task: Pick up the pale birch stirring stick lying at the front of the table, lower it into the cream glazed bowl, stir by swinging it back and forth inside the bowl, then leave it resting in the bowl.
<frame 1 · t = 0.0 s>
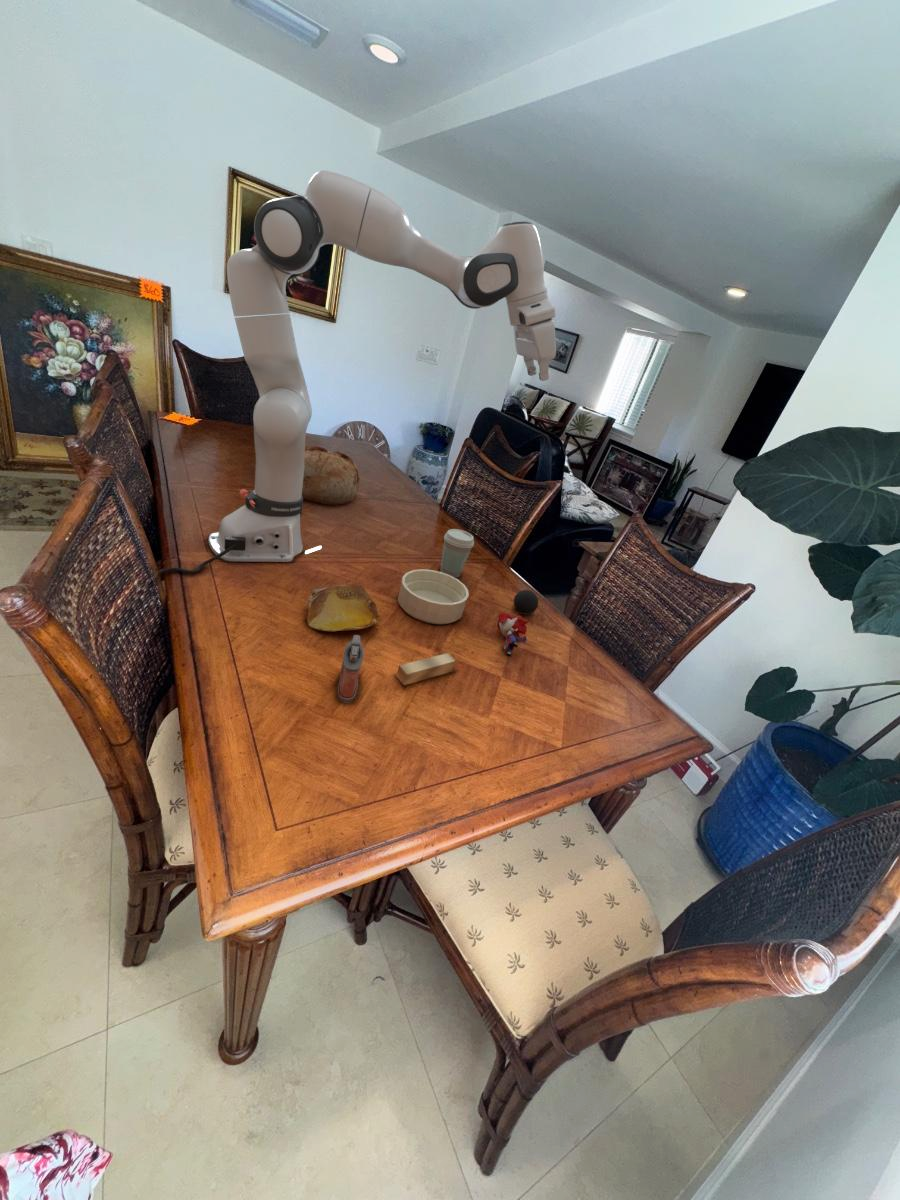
hand: (538, 377, 114), 54 cm above the table, tool tilted 30°, fingers open, 8 cm apart
bread: (322, 493, 168), on the table
coffee cup: (449, 573, 138), on the table
brown yellow irregular block: (341, 617, 106), on the table
bowl: (430, 606, 118), on the table
figurine: (509, 644, 113), on the table
stick: (425, 674, 96), on the table
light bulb: (521, 610, 129), on the table
lighter: (347, 688, 87), on the table
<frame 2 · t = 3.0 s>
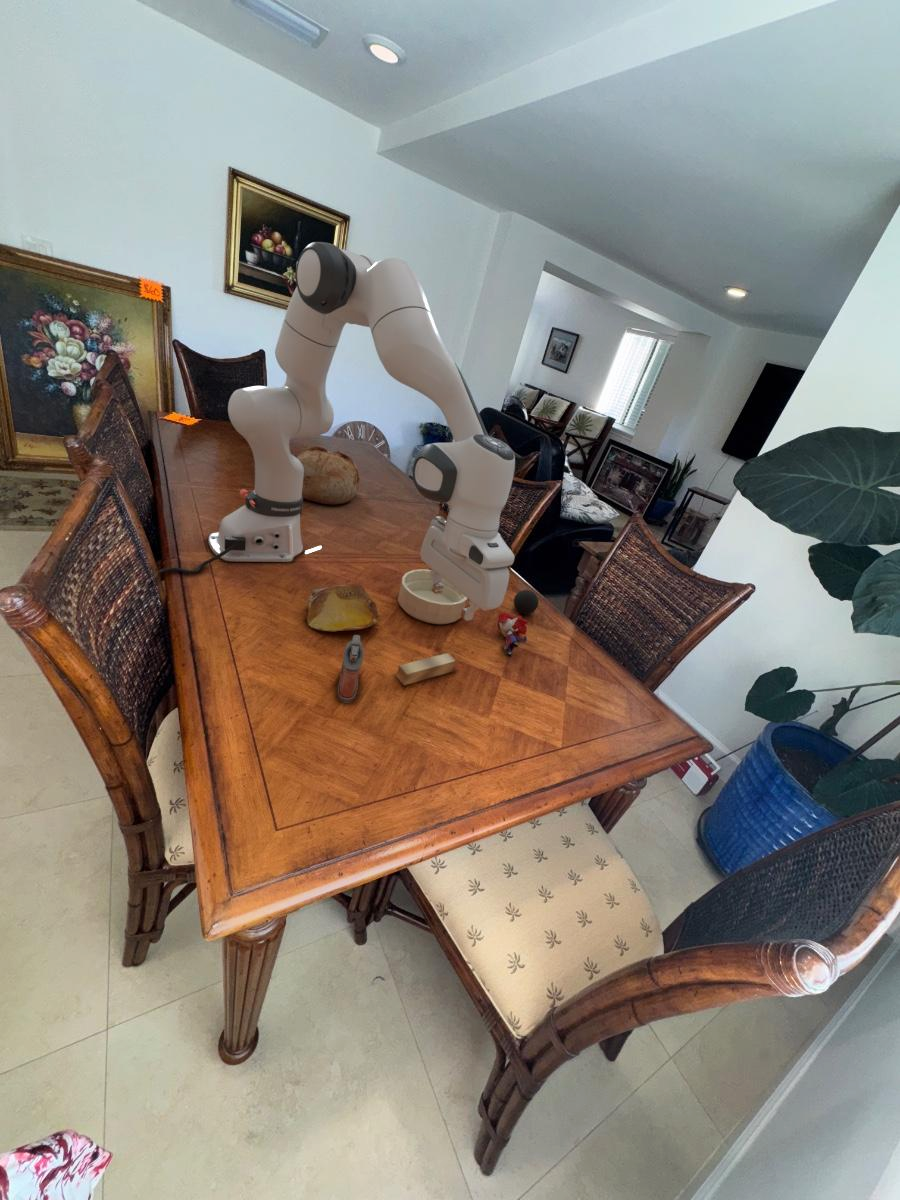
hand: (450, 604, 89), 16 cm above the table, tool pointing down, fingers open, 8 cm apart
nothing on the table moved.
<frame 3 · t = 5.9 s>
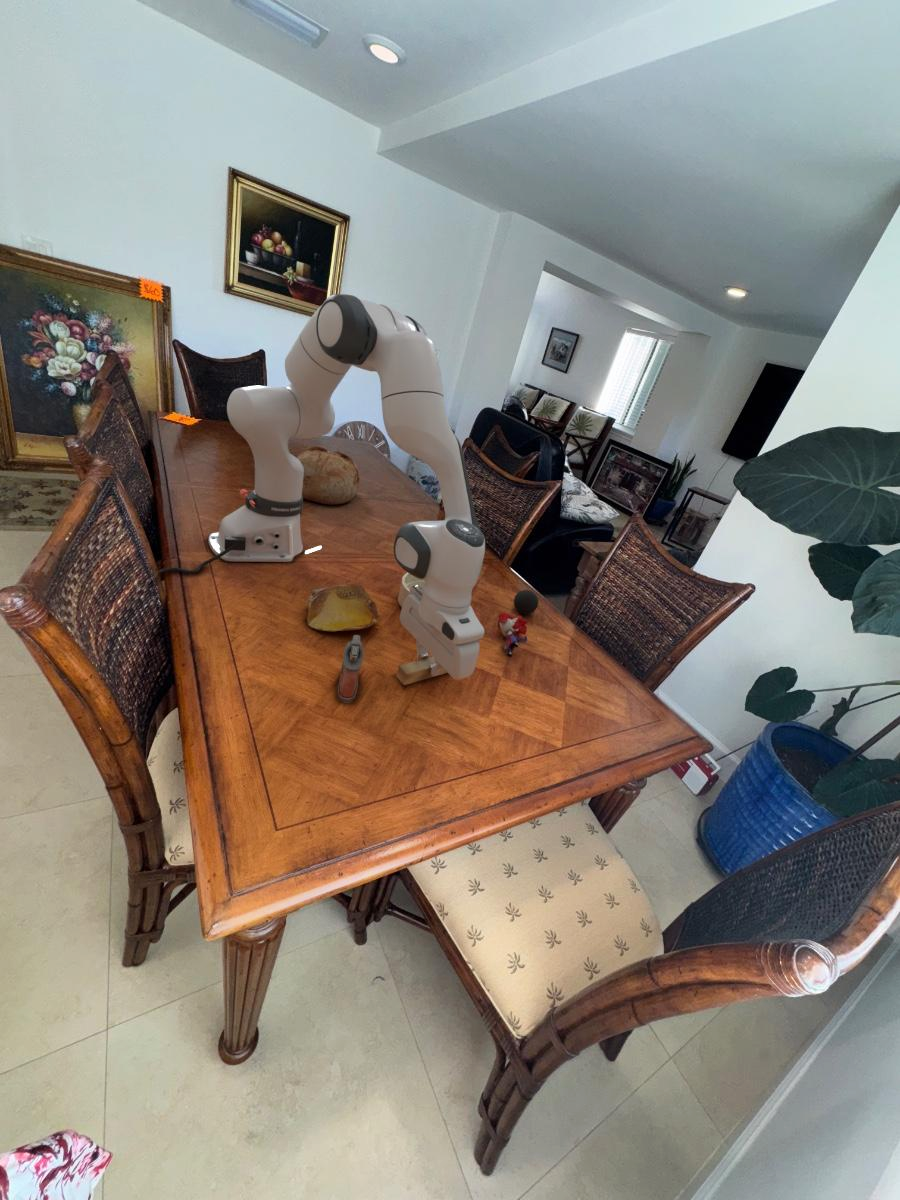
hand: (427, 667, 95), 2 cm above the table, tool pointing down, fingers closed on stick, 3 cm apart
stick: (425, 673, 96), on the table, touching gripper
everything else where it was.
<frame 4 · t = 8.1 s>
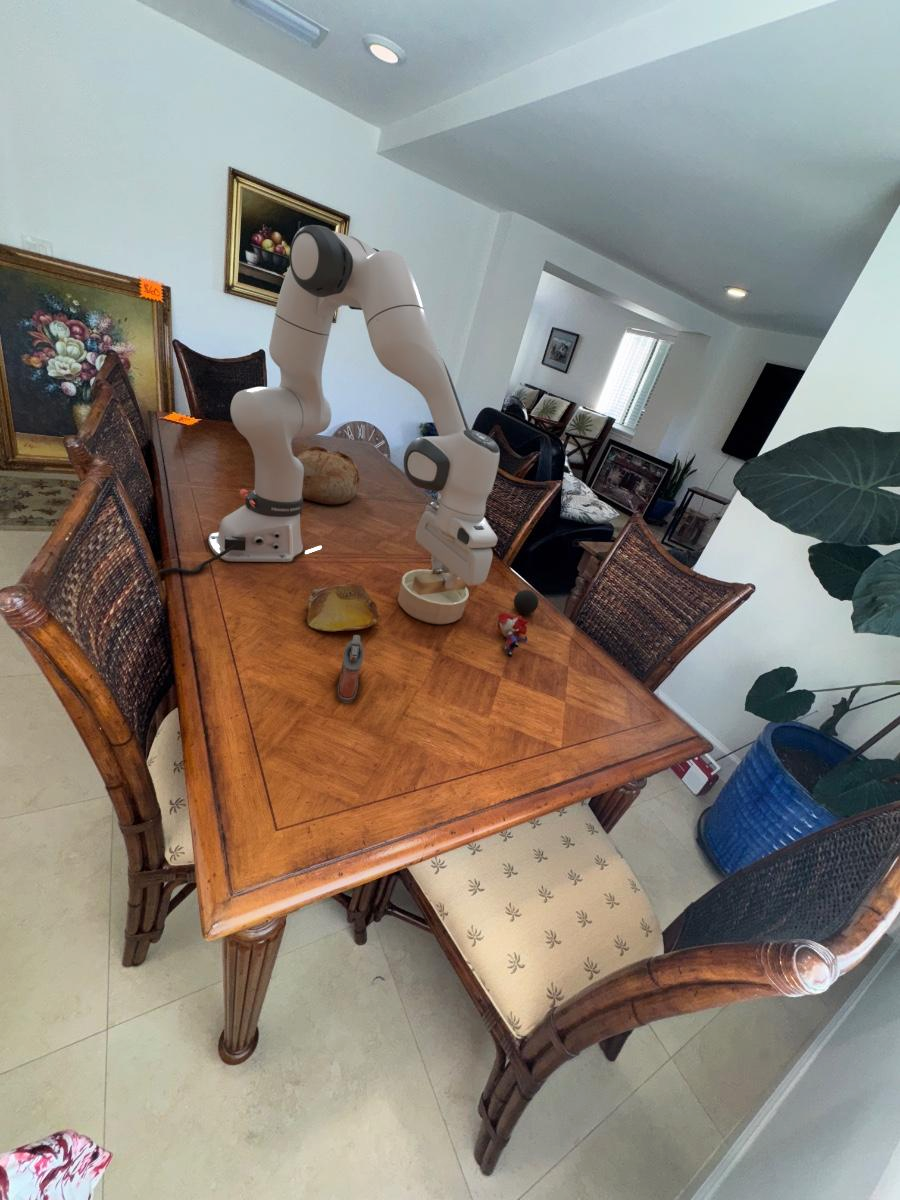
hand: (441, 581, 99), 15 cm above the table, tool pointing down, fingers closed on stick, 3 cm apart
stick: (439, 588, 100), point 13 cm above the table, touching gripper
everything else where it was.
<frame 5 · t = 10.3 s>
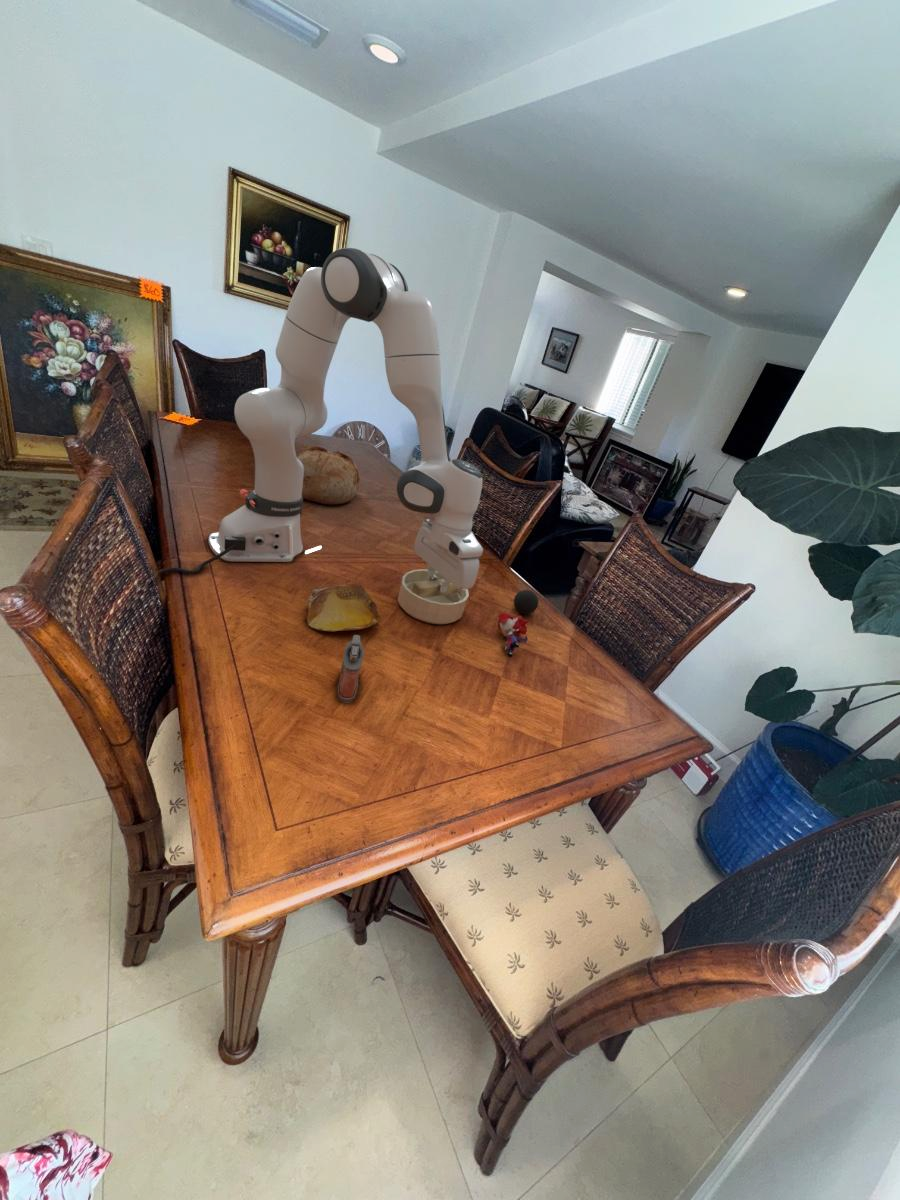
hand: (436, 586, 116), 6 cm above the table, tool pointing down, fingers closed on stick, 3 cm apart
stick: (435, 592, 116), point 4 cm above the table, touching gripper
everything else where it was.
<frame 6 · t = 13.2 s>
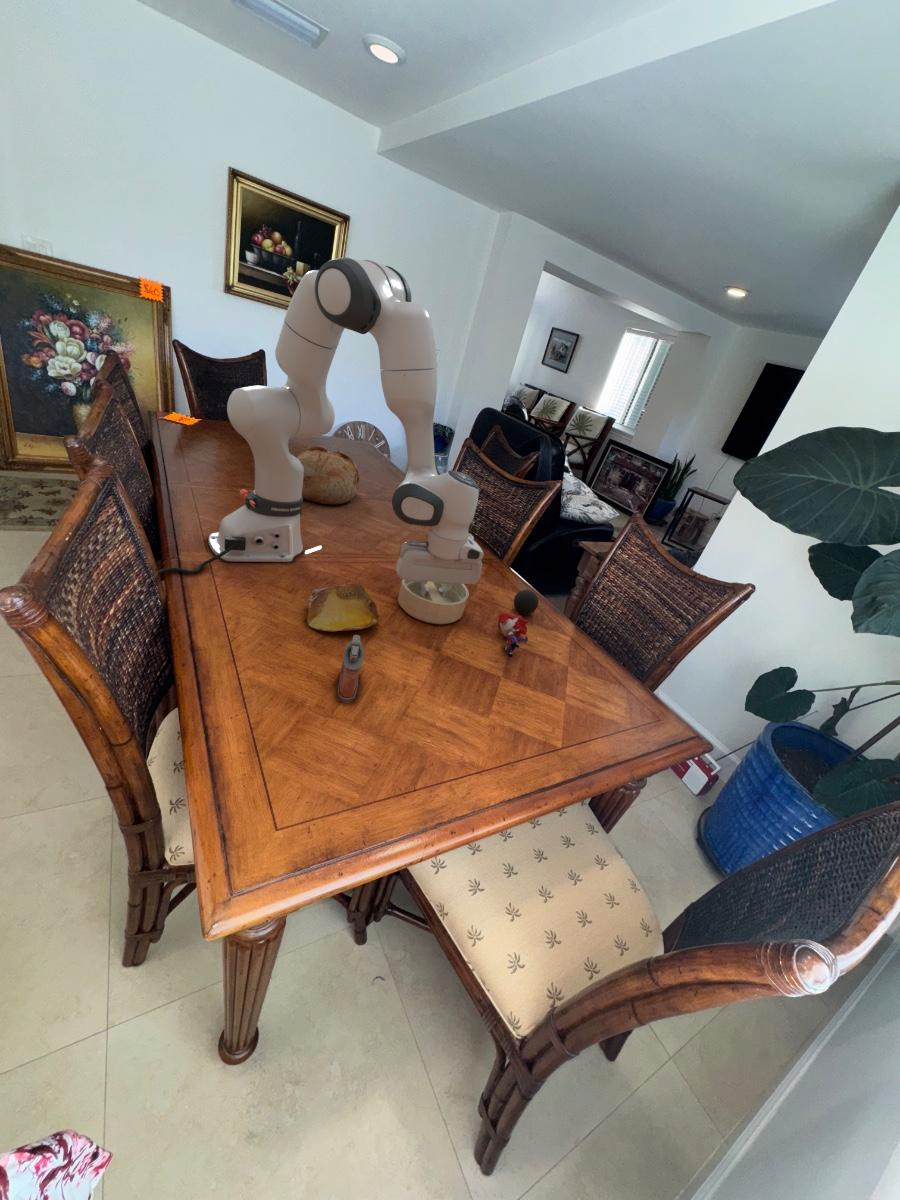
hand: (432, 595, 116), 4 cm above the table, tool pointing down, fingers closed on stick, 3 cm apart
stick: (430, 601, 117), point 2 cm above the table, touching gripper
everything else where it was.
when the fingers open (2 cm above the table, at t = 15.3 s): stick stays where it is, resting on bowl.
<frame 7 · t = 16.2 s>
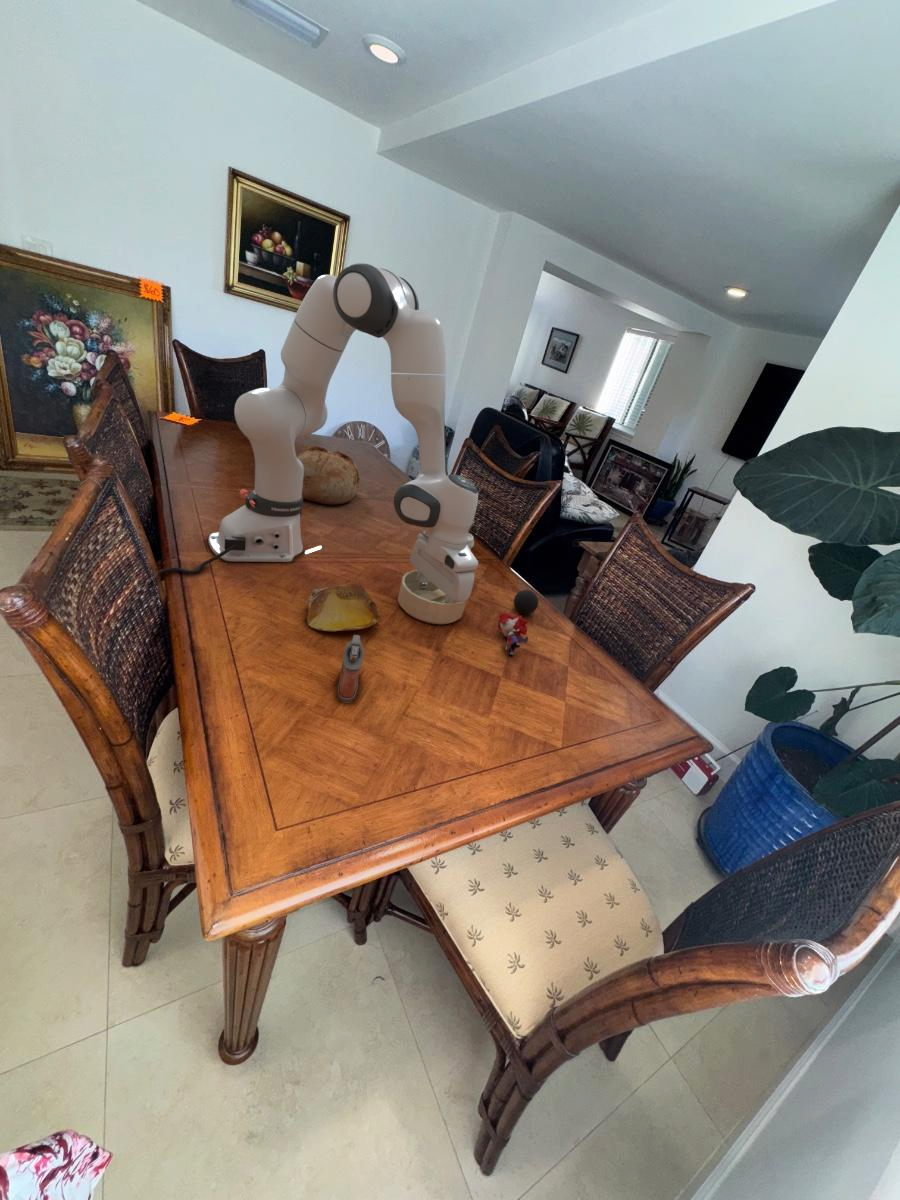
hand: (432, 598, 117), 3 cm above the table, tool pointing down, fingers open, 8 cm apart
stick: (431, 604, 118), point 1 cm above the table, touching bowl
everything else where it was.
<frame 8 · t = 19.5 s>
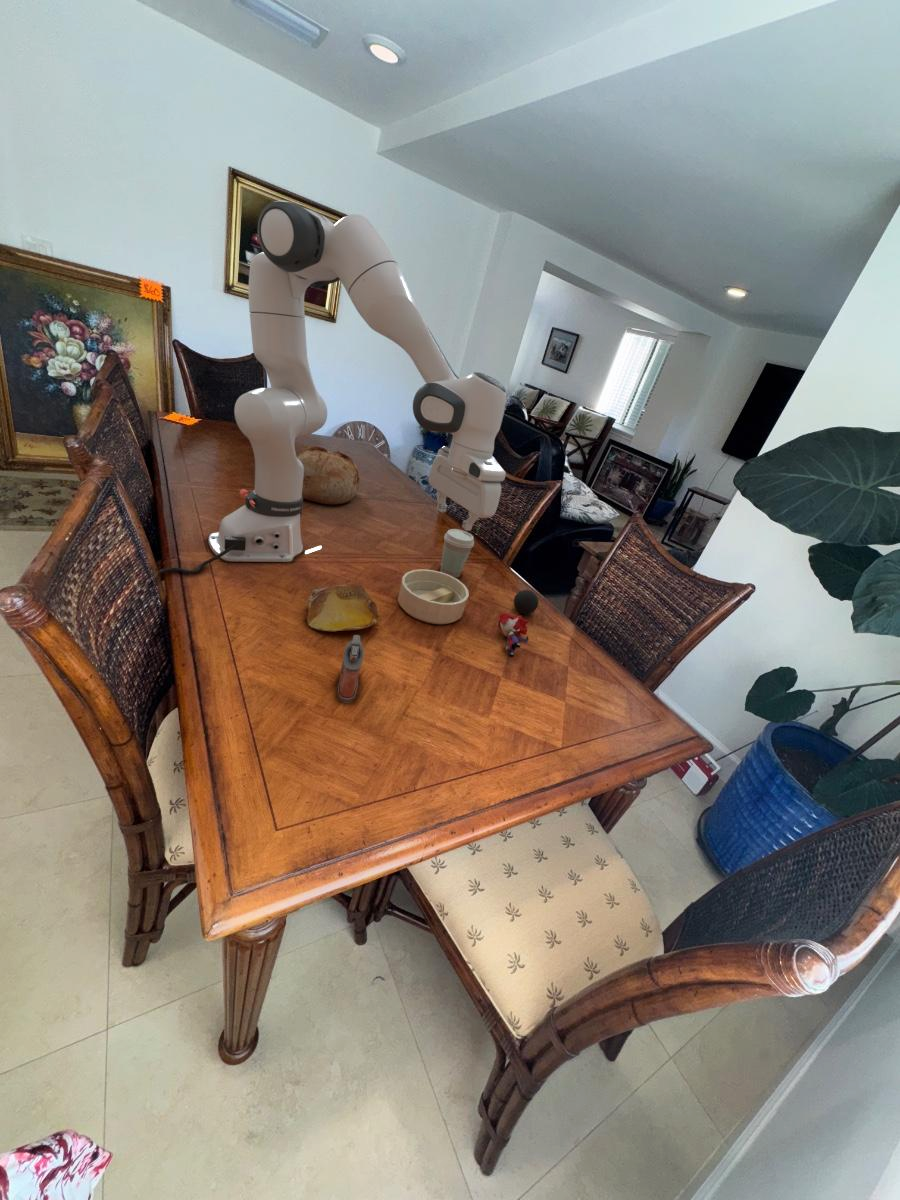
hand: (453, 520, 107), 23 cm above the table, tool pointing down, fingers open, 8 cm apart
nothing on the table moved.
at the end: stick inside the target area in the bowl (0.1 cm from its centre), point 0.8 cm above the bowl's base; the gripper is holding nothing; stick moved 26.4 cm from its start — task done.
